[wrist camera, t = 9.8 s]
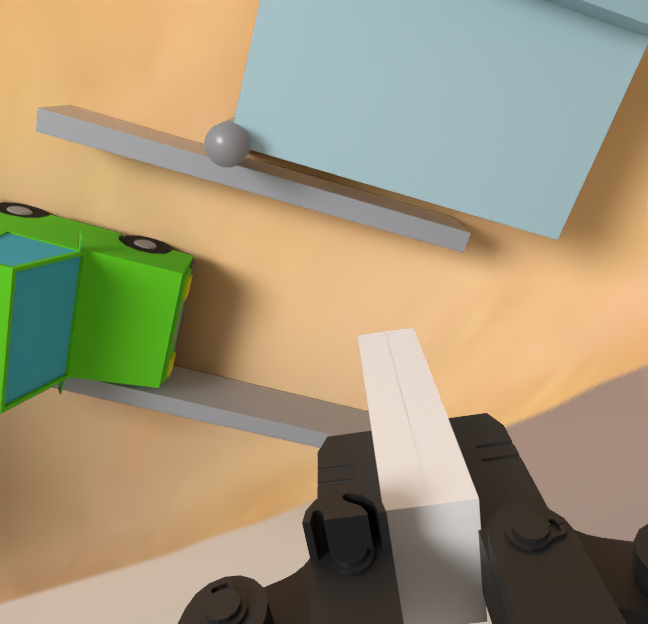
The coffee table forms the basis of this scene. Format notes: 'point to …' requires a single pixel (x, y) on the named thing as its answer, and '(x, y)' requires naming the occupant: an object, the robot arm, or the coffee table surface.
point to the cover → (440, 97)
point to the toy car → (84, 304)
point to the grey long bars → (270, 181)
